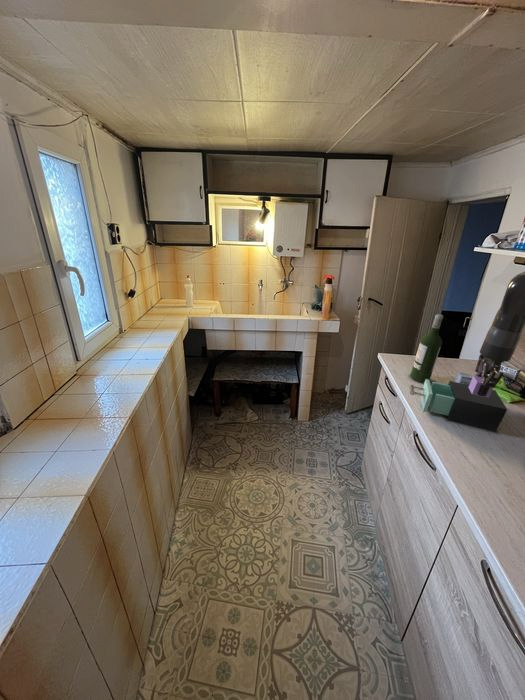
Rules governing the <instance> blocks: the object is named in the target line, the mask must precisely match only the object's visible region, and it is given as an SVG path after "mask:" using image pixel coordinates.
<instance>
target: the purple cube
mask: <svg viewBox="0 0 525 700" xmlns="http://www.w3.org/2000/svg"><path fill="white" fill-rule="evenodd" d="M482 379H483V377H478V376H473V378H472V380H471V382H470V385H469V389H470V391H471V393H472V394H473V395H478V394H477V392H478V390H479V388H480V385H481V382H482ZM486 379H487V378H486ZM492 390H494V388H492V387H490V388H489V390H488V392H487V395H486V396H483V397H487V398H489V396H490V394H491V392H492ZM478 396H480V395H478Z"/></svg>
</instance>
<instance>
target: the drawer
mask: <svg viewBox="0 0 525 700" xmlns="http://www.w3.org/2000/svg"><path fill="white" fill-rule="evenodd" d="M430 381H431V380H430ZM430 381H429V380H428V379H426V380H425V383H423V386H422V387H419V386H414V384H409V385H408V386H409V394H410V395H411V396H414V395H417V396H420V397H419V398H420V402H421V409H422V412H424V413H427V412H428V409H429V410H430V412H431V413H435V414H438V415H439V414H440V415H444V416H446V415H447V416H448V415H449V412H450V409H451V407H452V404H453V402H454V399H455V398H454V395H453V393H452V390H451V387H450V385H448V384H446V383H441V382H436V381H432V383H431V382H430ZM415 390H418V391H419V390H420V391H421V392H416V391H415Z"/></svg>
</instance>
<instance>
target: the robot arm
mask: <svg viewBox="0 0 525 700" xmlns="http://www.w3.org/2000/svg"><path fill="white" fill-rule="evenodd" d="M524 330H525V271H522V272H521V273H518V274H516V275H514V276H513V277H512V278H511V279H510V281H509V283H508V285H507V288H506V289H505V293H504V295H503V299H502V302H501V304H500V307H499V309H498V310H497V312H496V314H495V316H494V319H493V321H492V323H491V325H490V328H489V329H488V331H487V333H486V335H485V337H484V340H483V342H482V344H481V347H480V349H479V355H478V360H477V364H476V367H475V370H474V371H475V373H476V374H475V375H476V376H478V377H483V379H482V382H481V385H480V388H479V390H478V392H477V394H478V395H480V396H486V395H487V392H488V390H489V388H490V387H492V388H493V389H495V388H496V387H497V385H498V383H500V382H501V379H502V378H503V376H504V372H502V371H501V368H502V363H504V362H509V361H511V360H512V357H513V356H514V353H515V351H516V349H517V347H518V345H519V342H520V341H521V337H522V335H523V331H524ZM486 378H487V379H486Z"/></svg>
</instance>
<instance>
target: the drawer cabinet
mask: <svg viewBox="0 0 525 700" xmlns="http://www.w3.org/2000/svg"><path fill="white" fill-rule="evenodd" d="M447 385H450V387H451V390H452V393H453V395H454V398H455V399H454V402H453V404H452V407H451V409H450V412H449V415H448V416H447V415H445V419H446V421H448V422H453V423H457V424H460V425H464V426H469V427H473V428H476V429H480V430H485V431H490V432H492V433H493V432H494V433H497V431H498V429H499V427H500V425H501V423H502V421H503V419H504V418H505V415H506V413H507V411H508V408H507V406H506V405H505V403H504V402H503V400H502V398H501V397H500V395H499V393H498V392H497V391H496V389H493V390H492V392H491V394H490V396H489V398H487V397H483V396H478V395H473V394H472V393H471V391H470V389H469V385H467V384H462V383H457V382H455V381H453V380H452V381H451V380H449V381H448V384H447Z"/></svg>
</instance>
